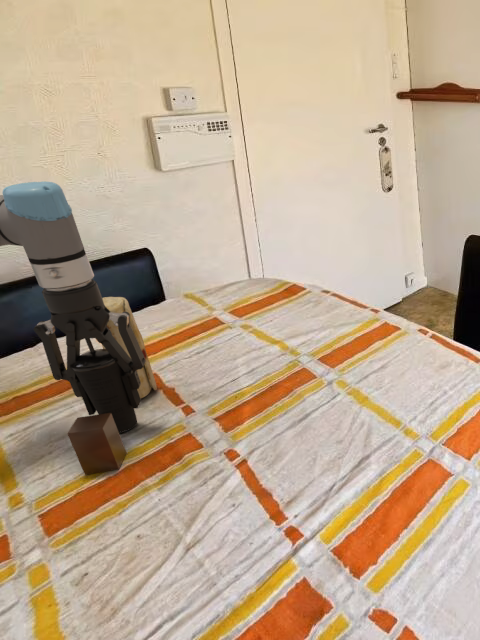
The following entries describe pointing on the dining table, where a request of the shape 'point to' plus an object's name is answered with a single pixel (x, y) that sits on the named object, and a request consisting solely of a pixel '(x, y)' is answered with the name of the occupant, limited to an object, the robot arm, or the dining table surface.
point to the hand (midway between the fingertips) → (115, 407)
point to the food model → (146, 372)
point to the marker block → (97, 443)
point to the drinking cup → (105, 386)
